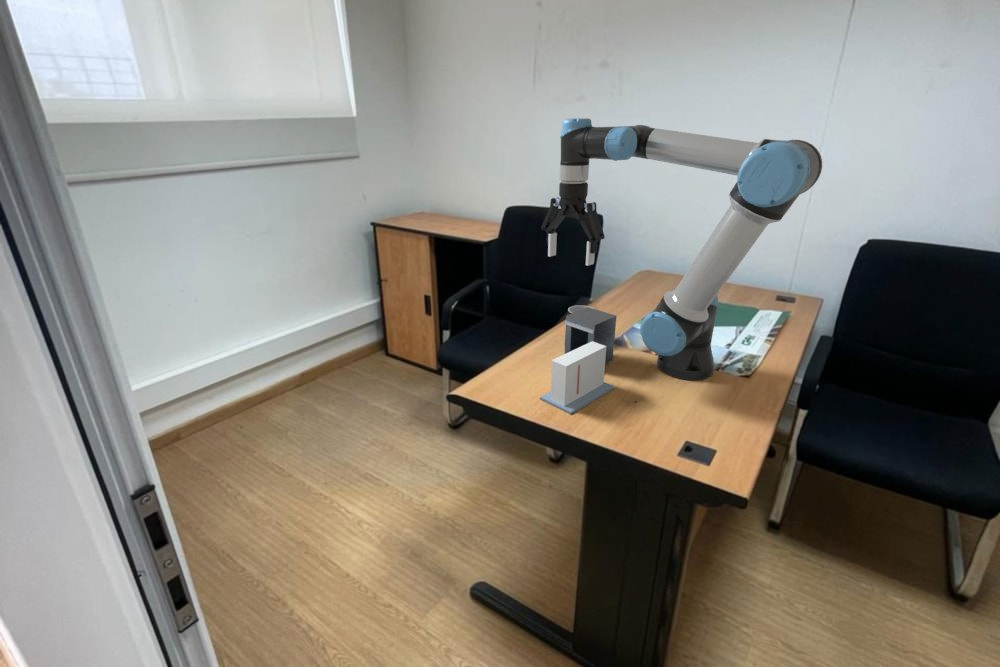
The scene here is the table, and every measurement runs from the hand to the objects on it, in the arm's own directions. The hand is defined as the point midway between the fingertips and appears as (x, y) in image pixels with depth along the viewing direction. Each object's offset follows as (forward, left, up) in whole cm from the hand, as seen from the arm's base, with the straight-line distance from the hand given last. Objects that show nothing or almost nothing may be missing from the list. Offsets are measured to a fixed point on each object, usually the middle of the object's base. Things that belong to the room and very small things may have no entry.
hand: (570, 260), depth 142 cm
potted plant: (-31, +10, -29) cm, 44 cm away
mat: (-18, +17, -29) cm, 38 cm away
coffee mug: (+4, -12, -29) cm, 32 cm away
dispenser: (-8, 0, -29) cm, 30 cm away
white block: (-18, +17, -28) cm, 37 cm away
